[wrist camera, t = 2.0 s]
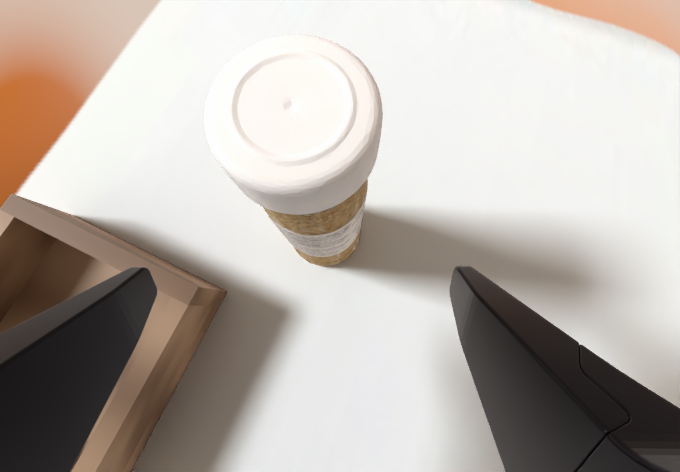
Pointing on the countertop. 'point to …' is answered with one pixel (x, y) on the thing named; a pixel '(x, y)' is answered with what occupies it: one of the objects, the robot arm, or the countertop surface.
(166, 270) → the walnut crate
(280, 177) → the sprinkles bottle
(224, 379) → the countertop surface
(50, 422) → the robot arm
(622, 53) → the countertop surface
